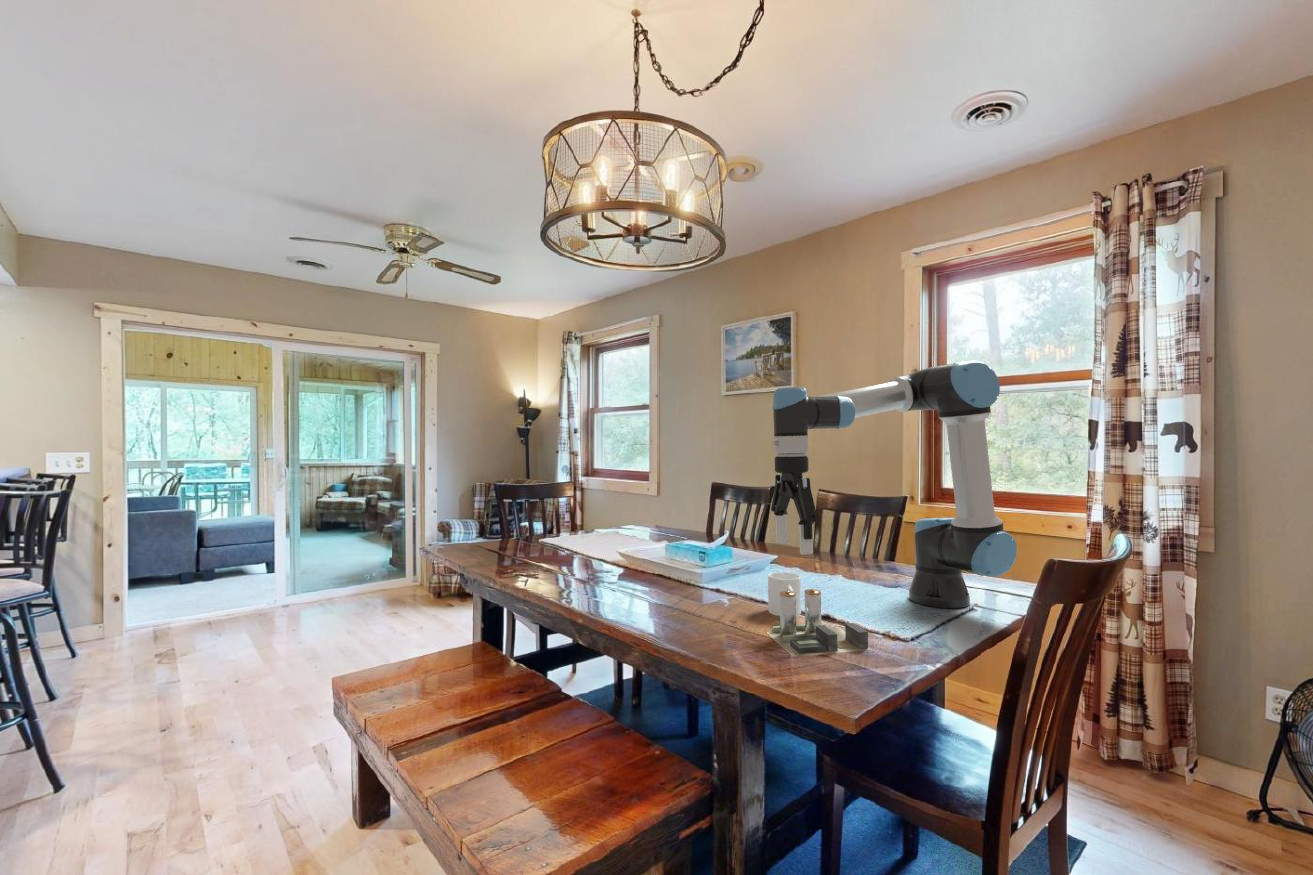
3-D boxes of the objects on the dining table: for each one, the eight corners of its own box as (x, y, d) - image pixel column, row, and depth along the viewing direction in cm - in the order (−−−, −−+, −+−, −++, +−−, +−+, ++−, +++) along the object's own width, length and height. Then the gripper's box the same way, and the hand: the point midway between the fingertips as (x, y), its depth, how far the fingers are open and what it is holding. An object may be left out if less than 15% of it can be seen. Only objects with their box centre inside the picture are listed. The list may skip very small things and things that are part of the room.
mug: (809, 625, 139) (808, 583, 139) (775, 625, 139) (774, 583, 139) (796, 610, 151) (796, 571, 151) (765, 610, 150) (765, 572, 151)
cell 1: (792, 633, 130) (792, 588, 130) (799, 638, 127) (798, 592, 127) (777, 634, 130) (777, 589, 130) (783, 639, 126) (783, 593, 126)
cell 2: (817, 631, 131) (816, 587, 131) (824, 636, 128) (823, 591, 128) (802, 632, 131) (801, 588, 131) (809, 637, 127) (808, 592, 127)
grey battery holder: (838, 630, 134) (837, 611, 134) (873, 654, 119) (872, 633, 119) (766, 636, 131) (765, 617, 131) (792, 661, 116) (792, 639, 116)
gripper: (756, 454, 141) (758, 539, 141) (798, 457, 116) (801, 560, 116) (784, 453, 142) (787, 537, 142) (832, 456, 118) (835, 558, 118)
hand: (793, 548), depth 129 cm, fingers open, 13 cm apart
